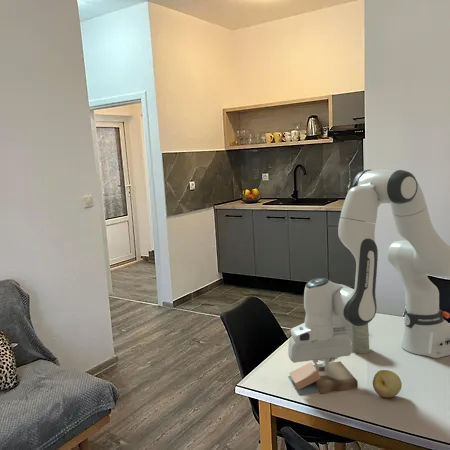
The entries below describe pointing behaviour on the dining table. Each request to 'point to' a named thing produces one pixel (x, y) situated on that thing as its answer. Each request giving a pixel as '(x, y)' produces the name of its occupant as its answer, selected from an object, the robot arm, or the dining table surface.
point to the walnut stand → (335, 379)
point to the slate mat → (305, 388)
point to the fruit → (387, 383)
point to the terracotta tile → (304, 375)
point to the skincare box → (360, 338)
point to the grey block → (341, 322)
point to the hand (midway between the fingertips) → (321, 370)
